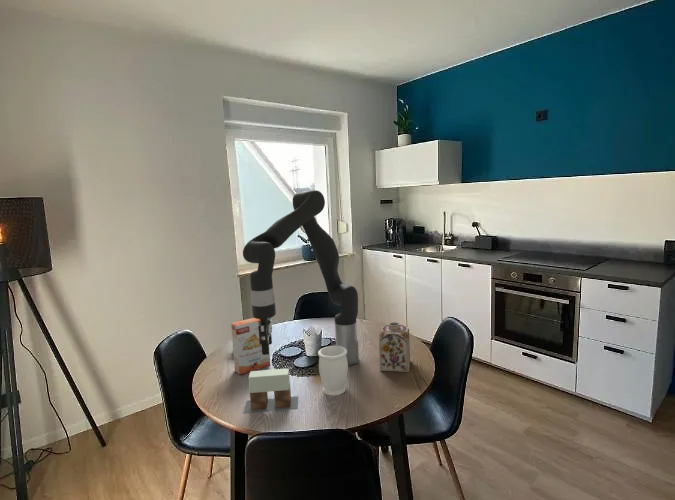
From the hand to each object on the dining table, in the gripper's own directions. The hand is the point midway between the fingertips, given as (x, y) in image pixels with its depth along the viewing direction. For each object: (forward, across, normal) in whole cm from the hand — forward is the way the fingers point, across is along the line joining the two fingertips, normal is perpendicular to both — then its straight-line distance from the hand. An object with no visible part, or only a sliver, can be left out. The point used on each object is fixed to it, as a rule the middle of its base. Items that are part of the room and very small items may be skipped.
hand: (267, 349), depth 126 cm
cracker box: (+21, +31, +11) cm, 39 cm away
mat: (+20, 0, 0) cm, 20 cm away
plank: (+14, 0, 0) cm, 14 cm away
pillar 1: (+20, 0, +4) cm, 20 cm away
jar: (+21, +7, -22) cm, 31 cm away
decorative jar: (+21, +23, -48) cm, 57 cm away
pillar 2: (+20, 0, -4) cm, 20 cm away
